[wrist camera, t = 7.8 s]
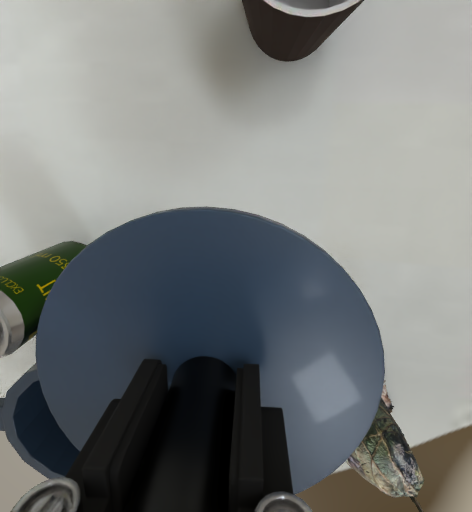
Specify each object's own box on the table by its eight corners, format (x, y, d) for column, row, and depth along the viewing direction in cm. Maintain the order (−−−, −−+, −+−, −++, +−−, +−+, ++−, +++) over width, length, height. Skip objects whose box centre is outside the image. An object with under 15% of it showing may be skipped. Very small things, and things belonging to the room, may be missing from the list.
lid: (30, 199, 11) (-302, 246, 4) (398, 209, 10) (651, 279, 4) (76, 472, 14) (-67, 721, 8) (350, 490, 14) (437, 773, 7)
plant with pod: (367, 325, 30) (578, 611, 11) (396, 413, 32) (605, 767, 13) (289, 350, 31) (351, 648, 12) (323, 433, 34) (418, 784, 14)
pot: (39, 302, 31) (-50, 359, 22) (207, 309, 30) (188, 371, 21) (56, 398, 34) (-14, 482, 25) (208, 406, 33) (192, 495, 24)
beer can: (53, 288, 30) (-68, 362, 19) (49, 236, 29) (-86, 282, 17) (106, 294, 30) (17, 372, 19) (105, 242, 29) (6, 292, 17)
